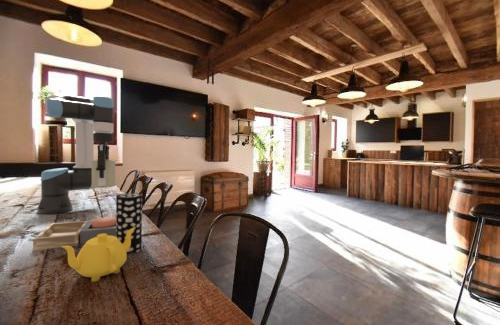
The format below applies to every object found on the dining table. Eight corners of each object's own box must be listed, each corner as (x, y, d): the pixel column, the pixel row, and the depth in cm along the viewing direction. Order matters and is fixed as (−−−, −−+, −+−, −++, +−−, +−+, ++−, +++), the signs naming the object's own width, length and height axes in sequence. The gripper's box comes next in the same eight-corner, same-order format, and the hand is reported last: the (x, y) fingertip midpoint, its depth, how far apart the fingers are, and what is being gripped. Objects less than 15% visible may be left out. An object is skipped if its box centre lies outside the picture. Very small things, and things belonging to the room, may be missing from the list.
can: (104, 188, 99) (104, 159, 98) (85, 187, 101) (85, 159, 100) (120, 185, 108) (120, 159, 107) (103, 184, 110) (103, 158, 109)
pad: (93, 223, 100) (93, 218, 100) (118, 221, 104) (118, 216, 104) (89, 230, 92) (89, 224, 92) (115, 228, 96) (115, 222, 96)
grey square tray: (88, 231, 102) (88, 220, 101) (124, 228, 108) (124, 217, 107) (80, 244, 89) (80, 231, 89) (122, 239, 95) (122, 227, 95)
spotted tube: (146, 247, 89) (147, 194, 87) (128, 256, 81) (129, 198, 80) (129, 243, 91) (129, 192, 90) (110, 252, 83) (110, 196, 82)
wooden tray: (51, 232, 99) (51, 223, 99) (88, 229, 104) (88, 220, 104) (33, 250, 83) (32, 239, 82) (78, 245, 88) (77, 234, 88)
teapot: (72, 300, 57) (72, 254, 57) (52, 278, 66) (52, 238, 65) (149, 268, 74) (149, 232, 73) (125, 254, 82) (125, 222, 82)
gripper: (97, 133, 112) (97, 181, 113) (88, 130, 92) (88, 188, 93) (115, 134, 115) (115, 180, 116) (110, 131, 95) (110, 187, 96)
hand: (103, 184), depth 104 cm, fingers closed on can, 9 cm apart
